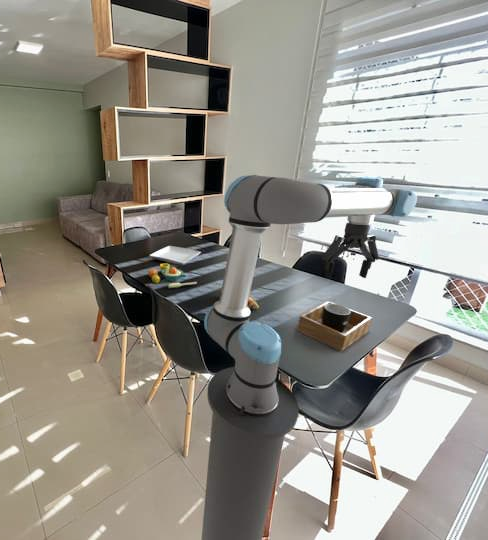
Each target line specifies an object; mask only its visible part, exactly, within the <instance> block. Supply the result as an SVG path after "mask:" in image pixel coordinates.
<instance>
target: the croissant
mask: <svg viewBox="0 0 488 540" xmlns="http://www.w3.org/2000/svg"><path fill="white" fill-rule="evenodd" d="M218 294H219V297H220V296H221V290H219V291H218ZM247 306H248V308H249V309H250V310H258V309H259V305H258V303H257V302H256V301H255V300H253V297H251V295H249V299H248V304H247Z"/></svg>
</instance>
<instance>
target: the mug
mask: <svg viewBox="0 0 488 540" xmlns="http://www.w3.org/2000/svg"><path fill="white" fill-rule="evenodd" d="M349 309H350V308H348V307H346V306H344V305H342V304H337V303H335V304H326V305H325V306H324V309H323V315H322V324H323V325H325V326H327V327H329V328H332V329H334V330H336V331H339V332H341V333H342V332H343V331H344V329H345V327H346V325H347V322H348V320H349V317H350V314H351V311H350V310H349Z"/></svg>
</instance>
